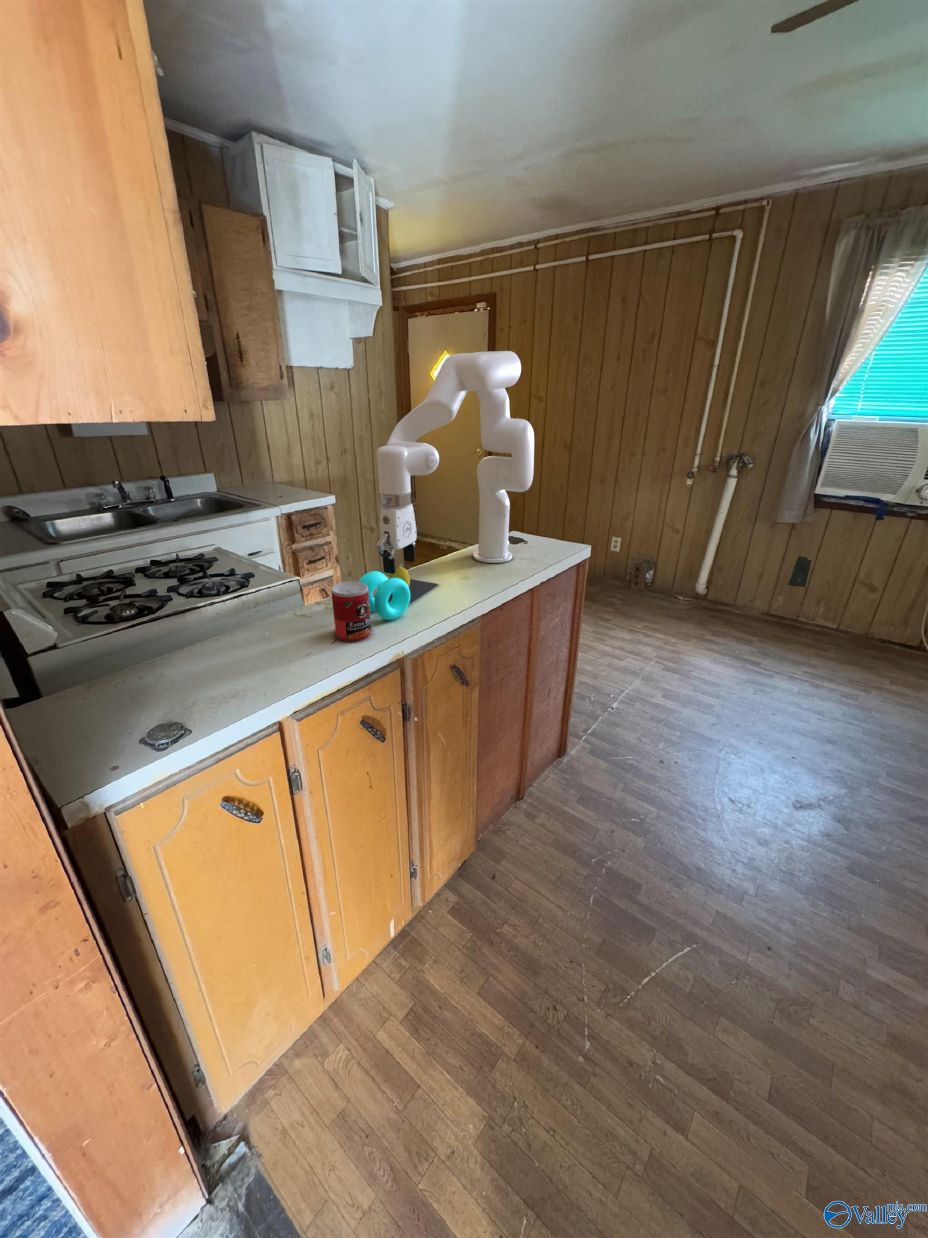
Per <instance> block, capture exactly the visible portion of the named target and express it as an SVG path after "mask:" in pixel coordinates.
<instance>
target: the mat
mask: <svg viewBox="0 0 928 1238" xmlns="http://www.w3.org/2000/svg"><path fill="white" fill-rule="evenodd" d="M438 585H439V584H438V583H434V582H429V581H423V580H417V579H411V578H410V585H409V590H410V602H409V605H410V604H412V603H413V602H415V601H416V600H418V599H419V598H421V597H422V596H424V595H425V594H428V592H430V591H431V590H433V589H434V588H436V587H438ZM392 598H393V594H392V593H391V595H390V596H389V599H388V603H390V602H391V600H392Z"/></svg>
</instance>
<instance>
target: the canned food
mask: <svg viewBox="0 0 928 1238" xmlns="http://www.w3.org/2000/svg"><path fill="white" fill-rule="evenodd" d="M330 593H331V601H332V612H333V621H334V630H335V635H336V637H337V638H338V639H339V640H341V641H344V642H359V641H363V640H365V639H367V638H368V637H370V635H371V632H372V623H371V612H370V606H369V593H368V586H367V585H366V584H364V583H361V582H359V581H355V580H354V581H352V580H351V581H341V582H337V583H336V584H334V585H332V587H331V591H330Z"/></svg>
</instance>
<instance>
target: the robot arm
mask: <svg viewBox="0 0 928 1238" xmlns="http://www.w3.org/2000/svg"><path fill="white" fill-rule="evenodd" d="M521 363H522V362H521V359H520V358H519V356H518V355H517V354H516V353H515V352H514V351H511V350H499V351H497V350H496V351H495V350H494V351H493V350H492V351H475V352H468V353H467V352H466V353H454V354H451V355H449V356H447V358H446V359H445V360H444V361H443V363H442V365H441V367H440V369H439V371H438V372H437V374H436V376H435V379H434V381H433V382H432V385H431V387H430V389H429V391H428V392H427V394H426V397H425V398H424V400H423V401H422V402H421V403H419V404H418V405H417V406H416V407H414V408H413V409H412V410H410V411H409V412H408V413H407V414H406V415H405V416H404V417H402V418H401V419H400V420H399V422H398V423H397V424H396V425H395V427H394V429H393V430H392V432H391V433H390V436H389V438H388V440H387V442H386V445H383V446H380V447H378V448H377V450H376V464H377V467H376V468H377V479H378V491H379V504H380V506H379V507H380V517H379V518H380V519H379V532H380V539H379V540H378V541H377V543H376V548H377V551H378V554H379V555H380V557H381V559H382V569H383V573H385V574H389V573H391V574H395V573H396V570H395V567H396V558H395V557H394V555H395V552H396V550H401V549H403V551H402V552H403V561H404V562H409V563H415V562H416V545H417V543H416V541H417V537H418V536H417V535H418V534H417V533H418V526H417V524H416V516H415V510H414V506H413V503H412V487H411V484H412V483H411V477H412V476H428V475H430V474H432V473H433V472H435V471H436V470H437V468H438V466H439V463H440V455H439V452H438V450H437V448H436V447H434V446H433V445H431V444H429V443H426V442H417V441H418V440H419V439H420V438H421V437H422V436H424V435H425V434H427V433H429V432H431V431H434V430H437V429H439V428H442V427H444V426H446V425H448V424H450V423H451V422H453V420H455V418H456V416H457V413H458V411H459V410H460V407H461V405H462V403H463V401H464V399H465V397H466V395H467V394H468V393H469V392H470V391H472V392H473V391H474V393H475V395H476V397H477V399H478V404H479V421H480V422H479V425H480V441H481V443H480V444H481V446H482V448H483V449H484V450H485V451H488V452H492V453H499V454H500V453H501V454H511V457H508V456H497V455H490V456H485V457H484V458H482V459H481V460H480V461H479V462H478V464H477V467H476V478H477V486H478V493H479V495H478V499H479V503H478V504H479V508H478V545H477V546H478V549H477V550H476V551H474V552H473V559H474V560H476V561H478V562H481V563H488V564H501V563H506V562H507V563H508V562H510V561H512V559H513V553H512V552H510V551H509V545H510V541H509V530H510V528H509V527H510V510H511V504H510V498H509V496H508V493H507V492H509V491H510V492H516V493H523V492H527V490H529V489H530V487H531V486H532V484H533V479H534V474H535V473H534V472H535V471H534V470H535V469H534V468H535V433H534V428H533V427H532V424H531V422H529V421H528V420H526V419H523V418H515V417H514V418H513V417H511V414H510V412H511V411H510V398H509V394H508V392H507V390H506V388H507V389H508V388H511V387H512V386H515V384H516V383H517V382H518V381H519V378H520V376H521V372H522V364H521ZM388 550H389V551H388Z"/></svg>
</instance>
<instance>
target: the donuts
mask: <svg viewBox="0 0 928 1238" xmlns="http://www.w3.org/2000/svg"><path fill="white" fill-rule="evenodd" d="M388 578H389V577H388V576H386V575H385V574H384V572H381V571H376V570H373V571H369V572H367V573H365V574H364V575H363V576H361V577H360V579H358V582H361V583H364V584H366V585H367V586H368V593H369V606H370V613H374V612H376V613H377V615H378V616H379V617H380V618H381V619H383V620H386V621H394V620H397V619H398V618H401V616H403V615H404V613H405V612H406V611H407V609H408V607H409V605H410V604H409V602H410V590H409V587H408V585H407V584H406V582H405V581H403V580H402V579H399V578H390V579H388ZM376 589H377V590H376ZM375 590H376V592H375V595H374V591H375ZM391 593H392V594H393V598H392V600H391V602H390V603H388V599H389V596H390V595H391Z"/></svg>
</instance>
